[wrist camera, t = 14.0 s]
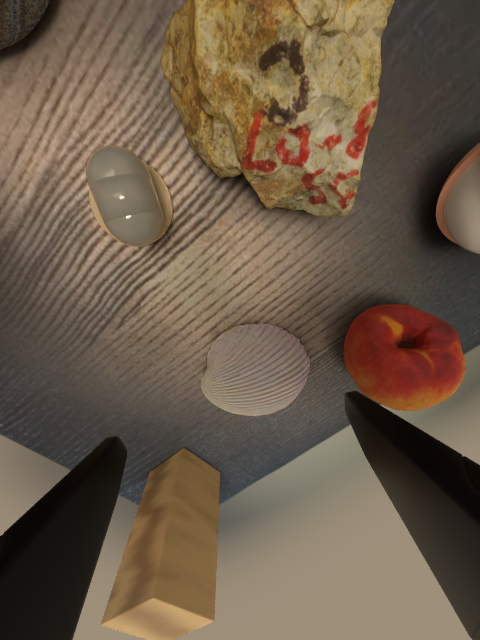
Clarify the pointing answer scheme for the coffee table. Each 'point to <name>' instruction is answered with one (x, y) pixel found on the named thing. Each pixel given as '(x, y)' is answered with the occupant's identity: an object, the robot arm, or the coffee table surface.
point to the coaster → (163, 199)
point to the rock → (280, 93)
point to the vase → (19, 19)
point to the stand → (170, 554)
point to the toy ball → (462, 203)
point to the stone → (125, 195)
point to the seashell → (255, 369)
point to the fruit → (404, 357)
